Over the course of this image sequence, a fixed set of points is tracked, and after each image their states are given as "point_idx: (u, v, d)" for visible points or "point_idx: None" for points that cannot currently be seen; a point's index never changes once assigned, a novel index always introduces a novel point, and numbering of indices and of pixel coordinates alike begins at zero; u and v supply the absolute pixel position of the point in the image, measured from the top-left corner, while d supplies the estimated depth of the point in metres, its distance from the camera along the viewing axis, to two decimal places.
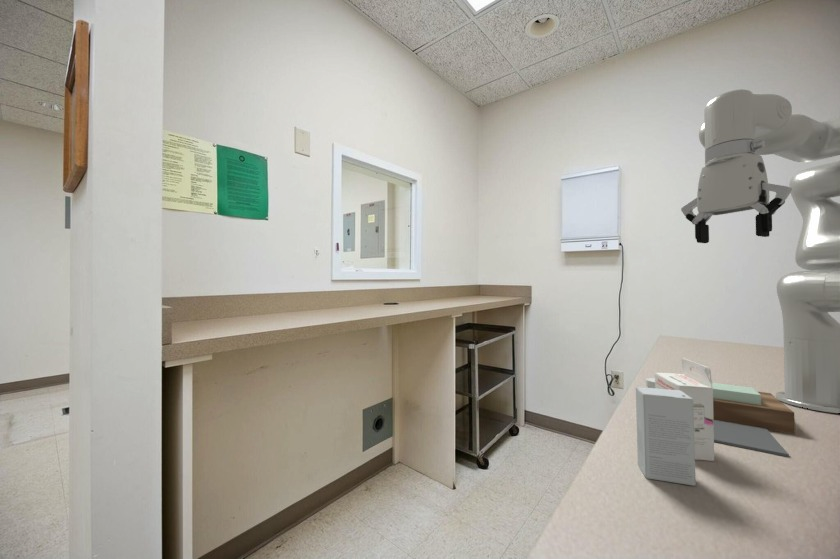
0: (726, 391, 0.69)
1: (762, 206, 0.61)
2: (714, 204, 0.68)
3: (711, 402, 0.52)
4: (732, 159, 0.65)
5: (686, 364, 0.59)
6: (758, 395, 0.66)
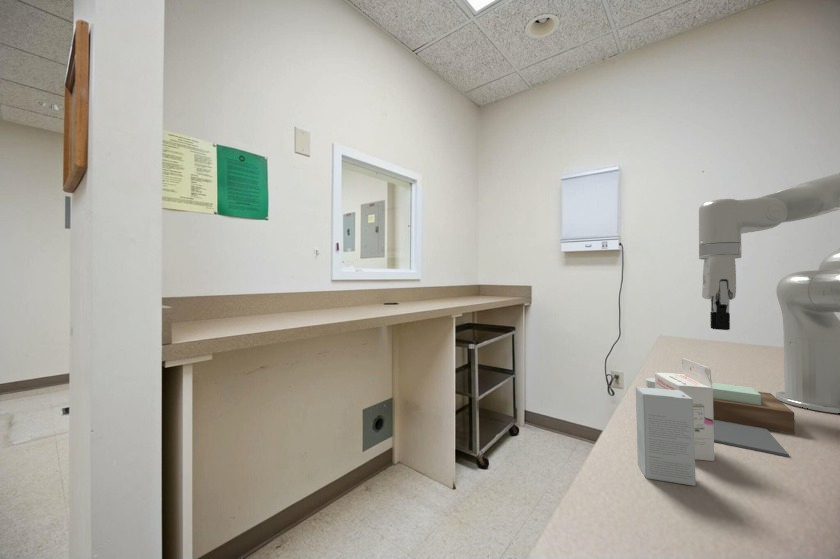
0: (726, 391, 0.69)
1: None
2: None
3: (711, 402, 0.52)
4: None
5: (686, 364, 0.59)
6: (758, 395, 0.66)
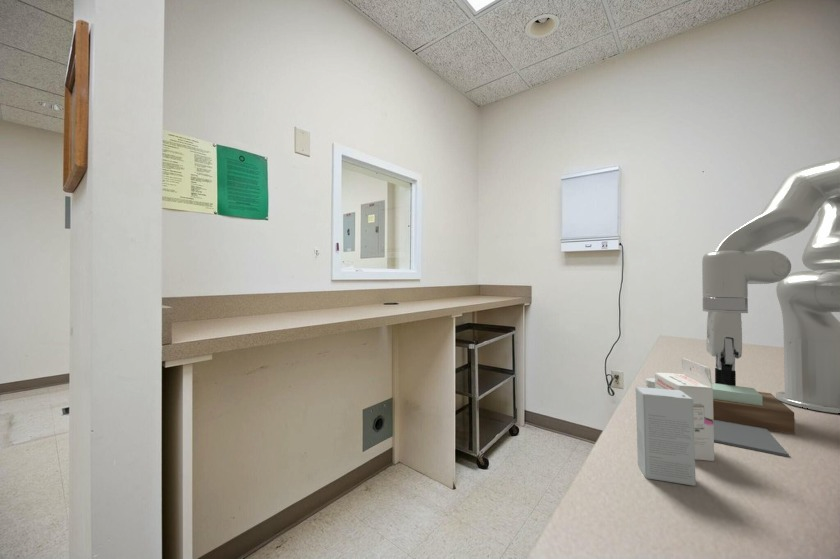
0: (727, 392, 0.68)
1: None
2: None
3: (711, 402, 0.52)
4: None
5: (685, 364, 0.59)
6: (759, 396, 0.66)
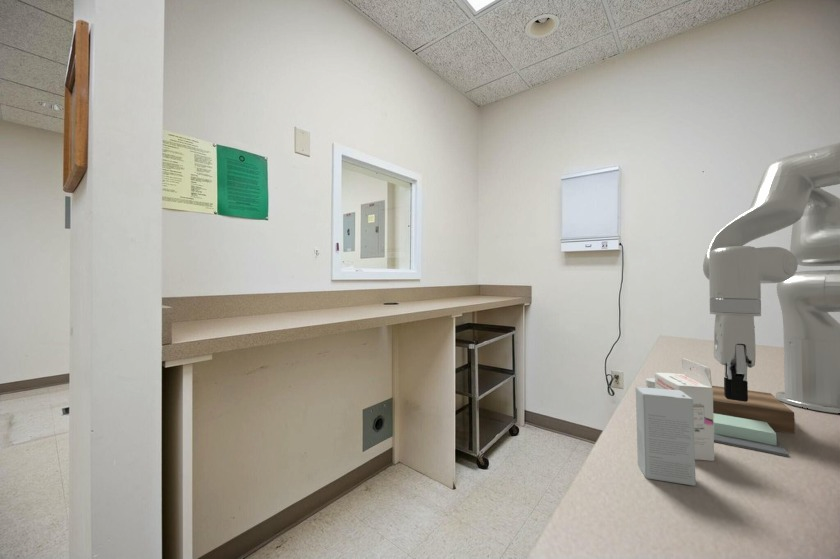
0: None
1: None
2: None
3: (711, 402, 0.52)
4: None
5: (685, 364, 0.59)
6: None
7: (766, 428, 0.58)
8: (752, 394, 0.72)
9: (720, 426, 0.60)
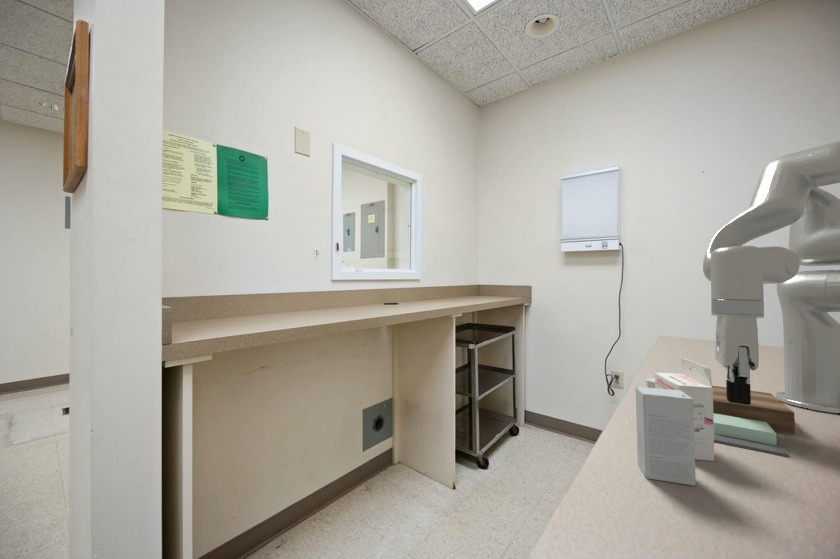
0: None
1: None
2: None
3: (711, 402, 0.52)
4: None
5: (686, 364, 0.59)
6: None
7: (766, 428, 0.58)
8: (752, 394, 0.72)
9: (720, 426, 0.60)
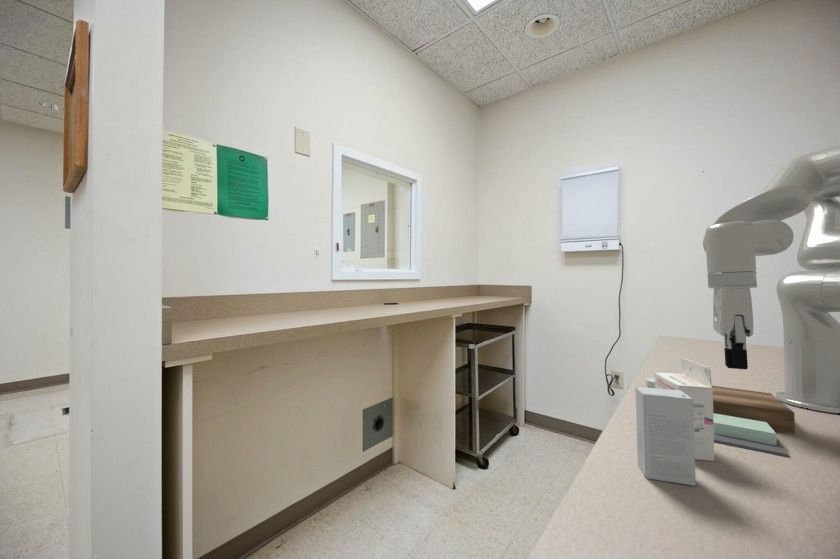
0: None
1: None
2: None
3: (711, 402, 0.52)
4: None
5: (685, 364, 0.59)
6: None
7: (766, 428, 0.58)
8: (752, 394, 0.72)
9: (720, 426, 0.60)
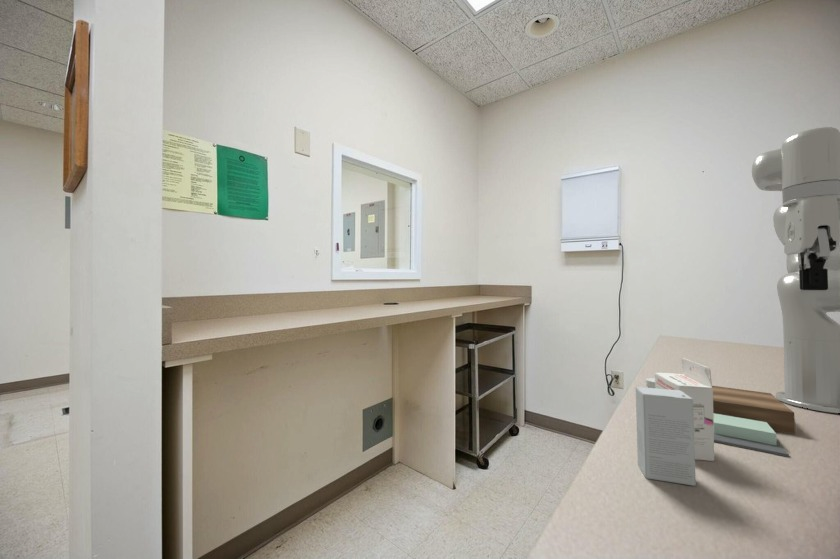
0: None
1: None
2: None
3: (711, 402, 0.52)
4: None
5: (686, 364, 0.59)
6: None
7: (766, 428, 0.58)
8: (752, 394, 0.72)
9: (720, 426, 0.60)
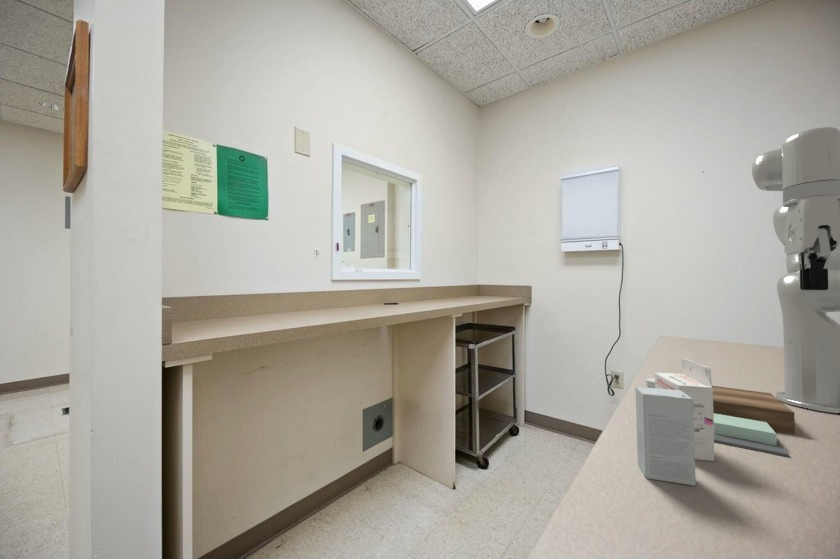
0: None
1: None
2: None
3: (711, 402, 0.52)
4: None
5: (686, 364, 0.59)
6: None
7: (766, 428, 0.58)
8: (752, 394, 0.72)
9: (720, 426, 0.60)
